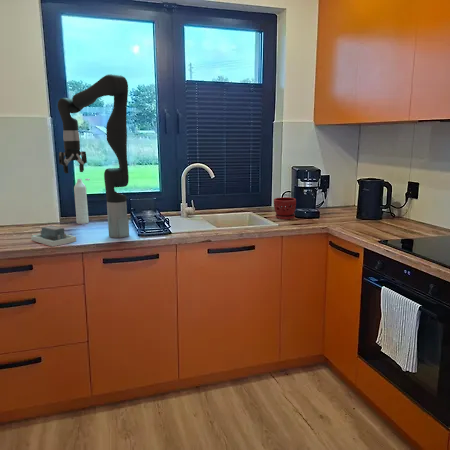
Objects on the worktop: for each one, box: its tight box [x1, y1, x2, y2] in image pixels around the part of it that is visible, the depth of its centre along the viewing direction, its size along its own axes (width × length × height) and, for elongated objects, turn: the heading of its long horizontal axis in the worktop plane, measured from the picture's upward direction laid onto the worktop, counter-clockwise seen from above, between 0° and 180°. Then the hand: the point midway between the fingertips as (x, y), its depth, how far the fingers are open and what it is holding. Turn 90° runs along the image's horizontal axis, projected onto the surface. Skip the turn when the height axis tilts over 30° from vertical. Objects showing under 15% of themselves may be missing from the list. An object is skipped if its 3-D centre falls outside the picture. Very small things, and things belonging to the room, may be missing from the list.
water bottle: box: [73, 177, 91, 225], centre depth 232 cm, size 9×6×25 cm
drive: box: [41, 225, 66, 241], centre depth 194 cm, size 10×5×5 cm, turn 57°
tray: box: [30, 229, 77, 247], centre depth 195 cm, size 18×12×4 cm, turn 52°
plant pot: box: [273, 196, 297, 221], centre depth 247 cm, size 13×13×12 cm
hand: (74, 172), depth 210 cm, fingers open, 8 cm apart
